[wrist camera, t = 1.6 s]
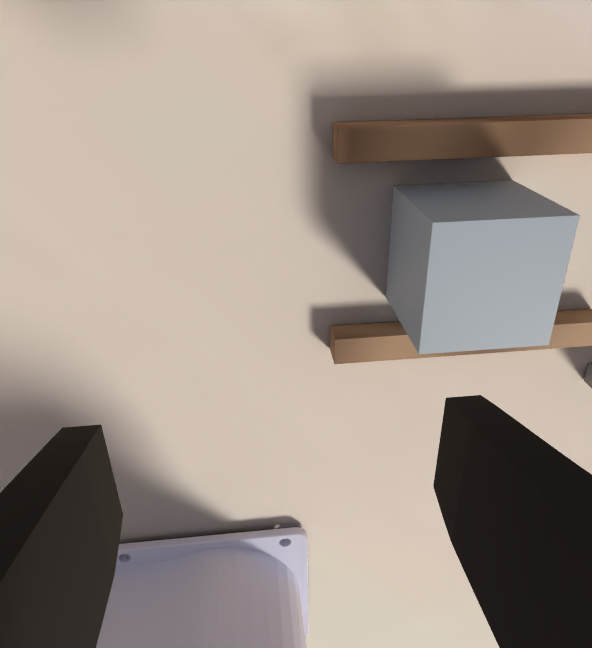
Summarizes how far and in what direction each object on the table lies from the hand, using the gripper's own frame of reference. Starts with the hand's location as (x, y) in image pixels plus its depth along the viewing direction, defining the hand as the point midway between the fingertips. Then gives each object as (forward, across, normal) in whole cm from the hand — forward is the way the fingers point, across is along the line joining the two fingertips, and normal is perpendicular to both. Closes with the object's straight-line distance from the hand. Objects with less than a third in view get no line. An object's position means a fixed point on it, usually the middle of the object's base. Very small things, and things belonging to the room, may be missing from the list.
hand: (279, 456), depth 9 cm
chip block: (+10, -6, 0) cm, 12 cm away
